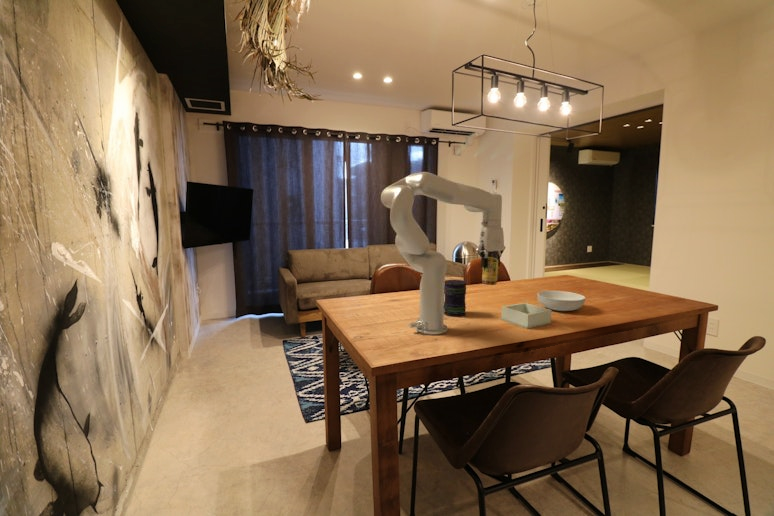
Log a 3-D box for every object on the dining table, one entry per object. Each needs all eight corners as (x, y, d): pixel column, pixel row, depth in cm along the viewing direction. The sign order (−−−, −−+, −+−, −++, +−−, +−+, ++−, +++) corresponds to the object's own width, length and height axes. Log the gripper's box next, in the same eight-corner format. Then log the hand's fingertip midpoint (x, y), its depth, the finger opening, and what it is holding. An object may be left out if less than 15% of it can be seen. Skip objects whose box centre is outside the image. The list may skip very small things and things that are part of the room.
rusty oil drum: (448, 309, 177) (449, 279, 175) (468, 312, 172) (469, 281, 170) (440, 315, 169) (440, 282, 167) (461, 318, 164) (461, 285, 162)
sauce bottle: (480, 284, 158) (481, 237, 155) (483, 281, 163) (484, 236, 160) (496, 286, 155) (497, 238, 152) (499, 283, 160) (500, 237, 158)
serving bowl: (593, 315, 168) (594, 300, 167) (546, 315, 168) (547, 300, 167) (571, 303, 188) (572, 289, 187) (529, 303, 189) (530, 290, 188)
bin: (527, 328, 149) (528, 314, 149) (501, 319, 162) (501, 306, 161) (550, 323, 156) (551, 310, 155) (524, 315, 168) (524, 302, 167)
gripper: (482, 225, 148) (481, 269, 151) (513, 223, 156) (511, 266, 159) (469, 224, 155) (468, 267, 157) (500, 223, 163) (498, 263, 165)
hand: (490, 266), depth 158 cm, fingers closed on sauce bottle, 6 cm apart
